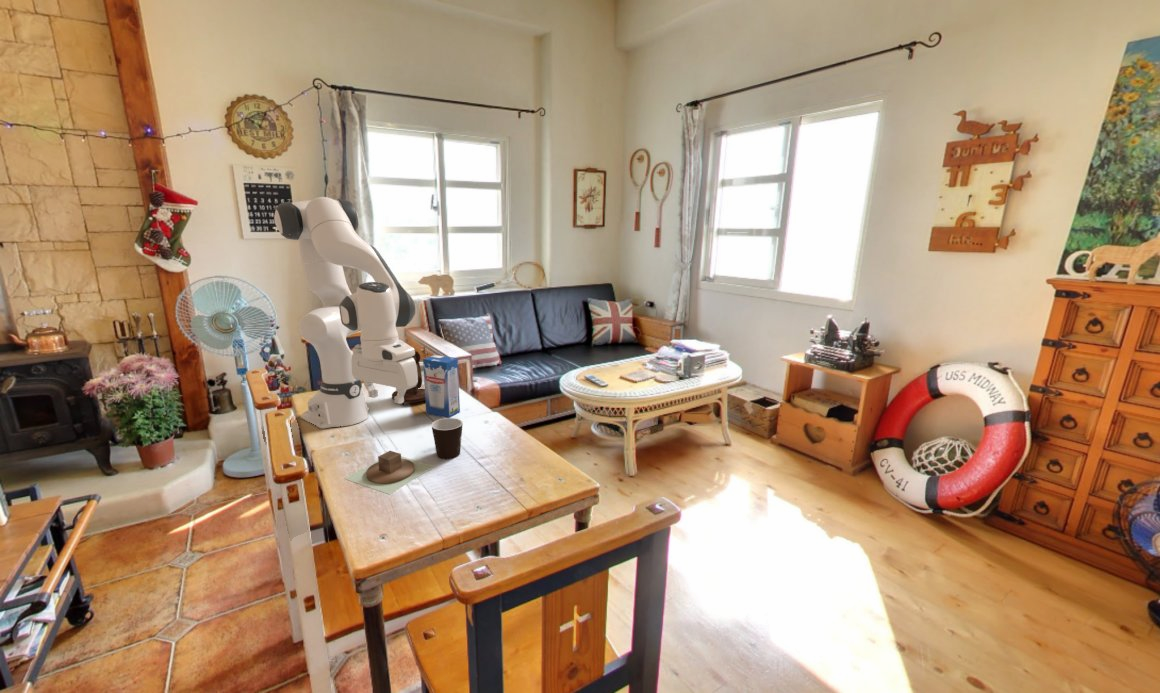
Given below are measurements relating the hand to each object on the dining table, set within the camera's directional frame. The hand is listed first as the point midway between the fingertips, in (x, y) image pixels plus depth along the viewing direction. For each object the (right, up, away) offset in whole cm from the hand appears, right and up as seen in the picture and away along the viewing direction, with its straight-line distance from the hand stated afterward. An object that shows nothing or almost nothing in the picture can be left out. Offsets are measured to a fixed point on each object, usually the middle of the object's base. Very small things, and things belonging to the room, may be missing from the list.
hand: (386, 399), depth 125 cm
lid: (-1, -20, +4) cm, 20 cm away
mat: (-1, -20, +5) cm, 21 cm away
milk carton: (+1, -10, +47) cm, 48 cm away
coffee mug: (+12, -18, +17) cm, 28 cm away
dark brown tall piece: (-14, -7, +59) cm, 61 cm away
